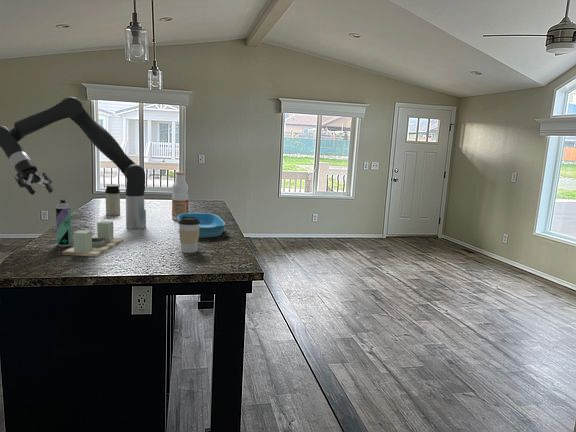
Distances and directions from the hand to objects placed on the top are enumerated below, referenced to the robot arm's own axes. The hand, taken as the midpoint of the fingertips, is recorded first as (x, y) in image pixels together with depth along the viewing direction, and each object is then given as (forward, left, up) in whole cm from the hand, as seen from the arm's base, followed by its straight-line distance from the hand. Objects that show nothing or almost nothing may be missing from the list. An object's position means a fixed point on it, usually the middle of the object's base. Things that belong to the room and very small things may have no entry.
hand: (42, 192), depth 186 cm
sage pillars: (-16, +20, -21) cm, 33 cm away
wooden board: (-16, +20, -22) cm, 34 cm away
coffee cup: (-49, +43, -22) cm, 69 cm away
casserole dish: (-70, +11, -22) cm, 75 cm away
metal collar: (-16, +20, -21) cm, 33 cm away
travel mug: (-44, -52, -22) cm, 71 cm away
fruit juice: (-74, -23, -22) cm, 80 cm away
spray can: (-6, +10, -22) cm, 25 cm away
